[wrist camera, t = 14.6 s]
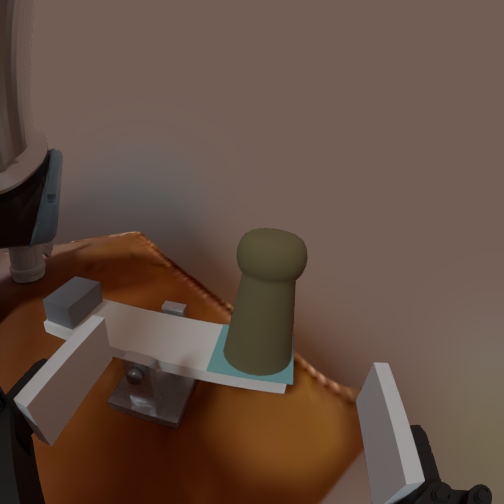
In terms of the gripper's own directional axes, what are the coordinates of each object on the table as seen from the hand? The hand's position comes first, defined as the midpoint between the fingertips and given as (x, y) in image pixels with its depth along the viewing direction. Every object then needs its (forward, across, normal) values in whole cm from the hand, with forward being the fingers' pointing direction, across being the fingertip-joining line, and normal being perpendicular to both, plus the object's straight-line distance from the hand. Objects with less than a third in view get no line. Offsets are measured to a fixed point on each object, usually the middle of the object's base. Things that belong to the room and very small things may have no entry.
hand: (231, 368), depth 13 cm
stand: (+10, -8, -14) cm, 19 cm away
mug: (+26, -42, -14) cm, 51 cm away
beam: (+11, -8, -8) cm, 16 cm away
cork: (+10, +1, -8) cm, 13 cm away
